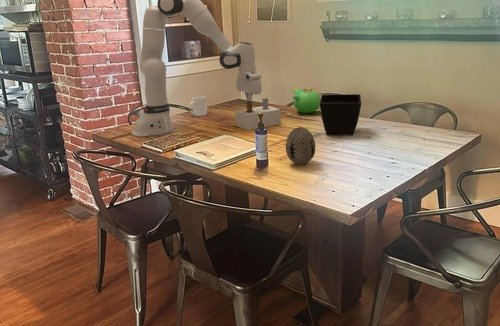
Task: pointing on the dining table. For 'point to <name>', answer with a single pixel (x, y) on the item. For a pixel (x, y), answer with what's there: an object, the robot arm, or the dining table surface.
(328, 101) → the flower pot
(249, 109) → the walnut plug
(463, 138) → the dining table surface
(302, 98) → the green teapot
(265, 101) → the metal plug
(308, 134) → the decorative egg
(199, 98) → the mug
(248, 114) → the socket block
